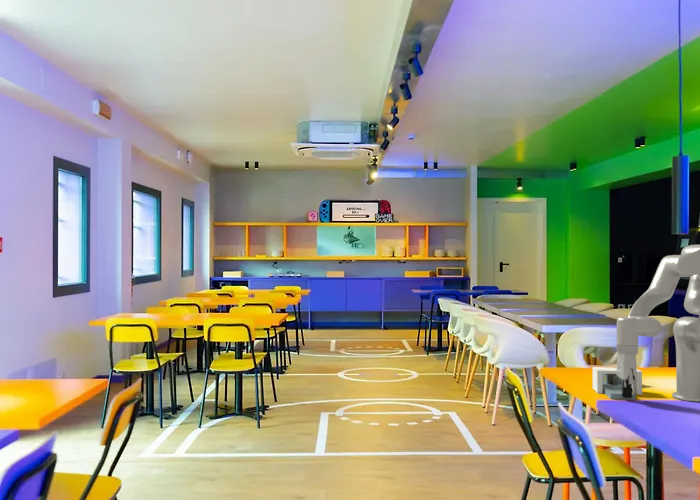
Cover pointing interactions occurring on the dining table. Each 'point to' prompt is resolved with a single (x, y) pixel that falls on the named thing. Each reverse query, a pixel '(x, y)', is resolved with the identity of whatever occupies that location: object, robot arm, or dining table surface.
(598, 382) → the shelf
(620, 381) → the beverage carton
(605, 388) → the panel
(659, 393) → the dining table surface
